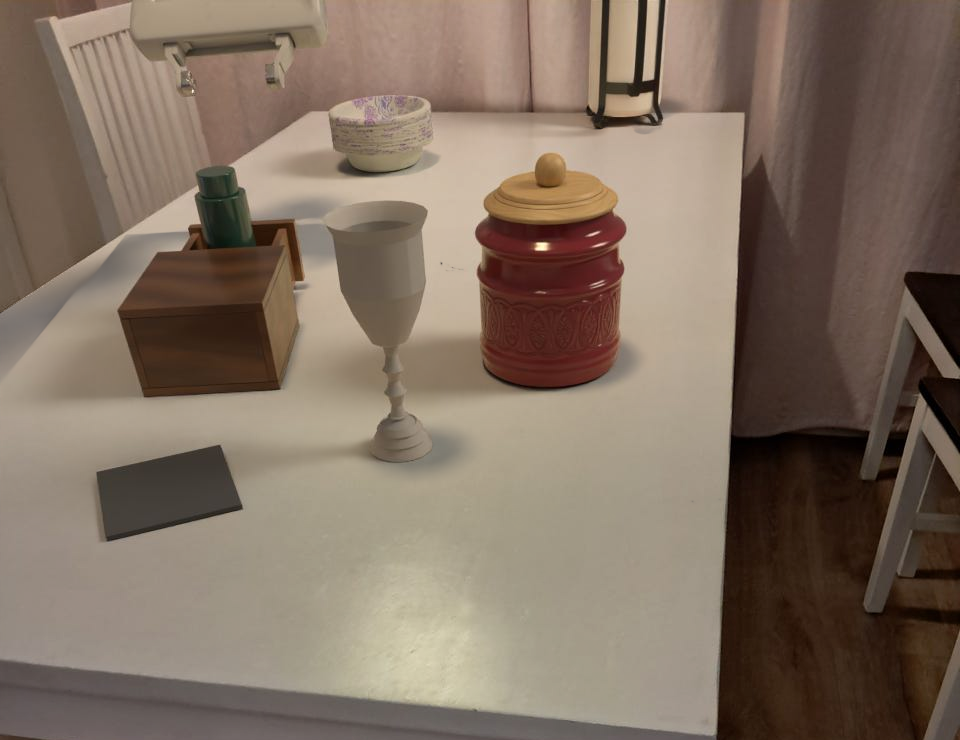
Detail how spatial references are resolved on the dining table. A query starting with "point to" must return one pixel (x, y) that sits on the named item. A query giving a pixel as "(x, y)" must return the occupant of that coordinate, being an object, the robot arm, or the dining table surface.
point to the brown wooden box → (211, 321)
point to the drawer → (264, 241)
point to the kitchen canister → (550, 277)
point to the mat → (166, 492)
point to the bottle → (223, 209)
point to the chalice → (385, 301)
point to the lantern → (626, 59)
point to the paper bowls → (381, 131)
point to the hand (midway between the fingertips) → (230, 90)
